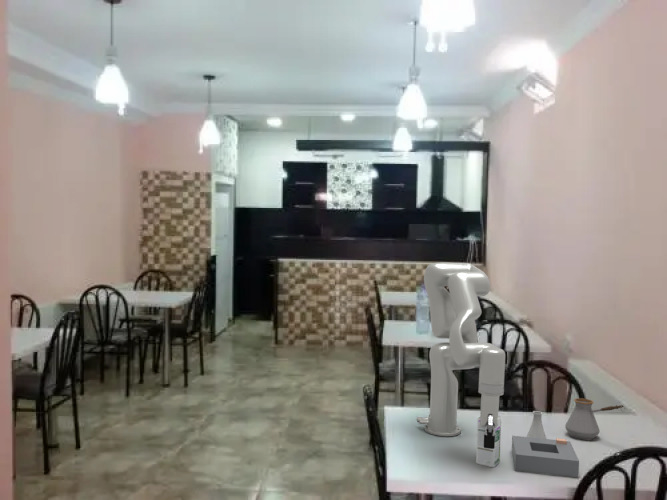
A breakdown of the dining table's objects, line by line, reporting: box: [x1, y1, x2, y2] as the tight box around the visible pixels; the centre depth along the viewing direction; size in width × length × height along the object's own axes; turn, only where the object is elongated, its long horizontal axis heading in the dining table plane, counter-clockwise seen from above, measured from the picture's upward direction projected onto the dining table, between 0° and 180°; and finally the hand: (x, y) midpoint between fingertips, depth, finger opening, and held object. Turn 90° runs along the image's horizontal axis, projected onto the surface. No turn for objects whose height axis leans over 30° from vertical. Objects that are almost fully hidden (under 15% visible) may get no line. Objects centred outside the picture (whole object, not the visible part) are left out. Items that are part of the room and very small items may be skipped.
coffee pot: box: [565, 397, 626, 441], centre depth 224 cm, size 21×12×15 cm, turn 32°
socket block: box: [511, 435, 580, 479], centre depth 200 cm, size 18×18×6 cm
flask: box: [526, 410, 547, 439], centre depth 222 cm, size 7×7×10 cm
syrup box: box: [475, 415, 502, 468], centre depth 199 cm, size 6×6×14 cm
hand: (488, 442), depth 199 cm, fingers open, 9 cm apart
